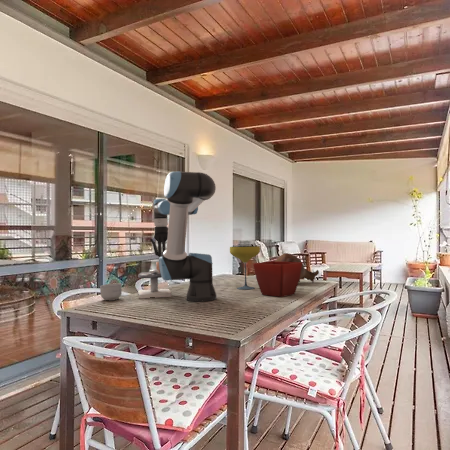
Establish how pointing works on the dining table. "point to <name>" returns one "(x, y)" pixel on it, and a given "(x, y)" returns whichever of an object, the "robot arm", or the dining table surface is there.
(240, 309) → the dining table surface
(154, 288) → the wheel stand
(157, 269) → the handwheel
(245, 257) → the cocktail glass
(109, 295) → the teacup
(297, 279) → the plant pot
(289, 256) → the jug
